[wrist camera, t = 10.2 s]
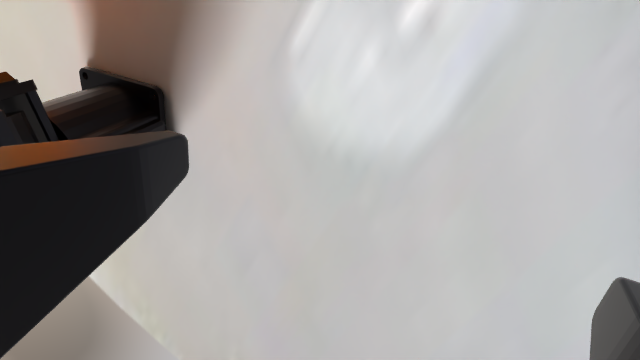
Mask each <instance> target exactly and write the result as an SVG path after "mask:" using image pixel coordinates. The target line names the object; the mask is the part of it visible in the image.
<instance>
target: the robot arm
mask: <svg viewBox="0 0 640 360" xmlns="http://www.w3.org/2000/svg"><path fill="white" fill-rule="evenodd" d="M79 74H80V80H81V86H82V91H79V92H76V93H72V94H69V95H66V96H63V97H59V98H56V99H53V100H50V101H46V102H43V103H42V102H41V100H40V98H39V96H38V94H37V92H36V90H37V87H36V85H35V83H34V81H33V80H29V81H25V82H21V83H19V82H18V80H17V79H14V78H13V77H12V76H11V75H9V74H8V73H7V72H2V73H0V359H1V358H2V357H3V356H4V355H5V354H6V353H7V352H8V351H9V350H10V349H11V348H12V347H13V346H14V345H15V344H17V343H18V341H20V340H21V339H22V338H23V337H24V336H25V335H26V334H27V333H28V332H29V331H30V330H31V329H33V328H34V327H35V326H36V325H37V324H38V323H39V322H40V321H41V320H42V319H43V318H44V317H45V316H46V315H47V314H49V313H50V311H52V310H53V309H54V308H55V307H56V306H57V305H58V304H59V303H60V302H61V301H62V300H63V299H64V298H66V297H67V295H69V294H70V293H71V292H72V291H73V290H74V289H75V288H76V287H77V286H78V285H79V284H80V283H82V282H83V281H84V280H85V279H86V278H87V277H88V276H89V275H90V274H91V273H92V272H93V271H94V270H95V269H96V268H98V267H99V266H100V265H101V264H102V263H103V262H104V261H105V260H106V259H107V258H108V257H109V256H110V255H111V254H112V253H114V252H115V251H116V250H117V249H118V248H119V247H120V246H121V245H122V244H123V243H124V242H125V241H126V240H127V239H128V238H129V237H131V236H132V235H133V234H134V233H135V232H136V231H137V230H138V229H139V228H140V227H141V226H142V225H143V224H144V223H145V222H146V221H147V220H148V219H149V218H150V217H151V216H152V215H153V214H154V212H155V211H156V210H157V209H158V208H159V207H160V206H161V204H162V203H163V202H164V201H165V200H166V199H167V198H168V196H169V195H170V194H171V193H172V192H173V191H174V190H175V188H176V187H177V186H178V185H179V184H180V183H181V181H182V180H183V179H184V178H185V177H186V175H187V173H188V170H189V156H188V141H187V138H186V137H185V136H184V135H182V134H179V133H176V132H173V131H166V126H165V113H164V99H163V93H162V91H161V89H160V88H158V87H157V86H153V85H150V84H146V83H143V82H140V81H136V80H133V79H129V78H126V77H122V76H119V75H115V74H112V73H108V72H105V71H101V70H98V69H95V68H91V67H85V68H81V69H80V71H79ZM154 94H155V96H154ZM590 360H640V283H639V282H636V281H633V280H630V279H627V278H623V277H619V278H617V279H615V280H614V281H613V283H612V284H611V286H610V287H609V289H608V291H607V292H606V294H605V295H604V297H603V299H602V300H601V302H600V304H599V305H598V307H597V309H596V310H595V313H594V315H593V319H592V329H591V345H590Z"/></svg>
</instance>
